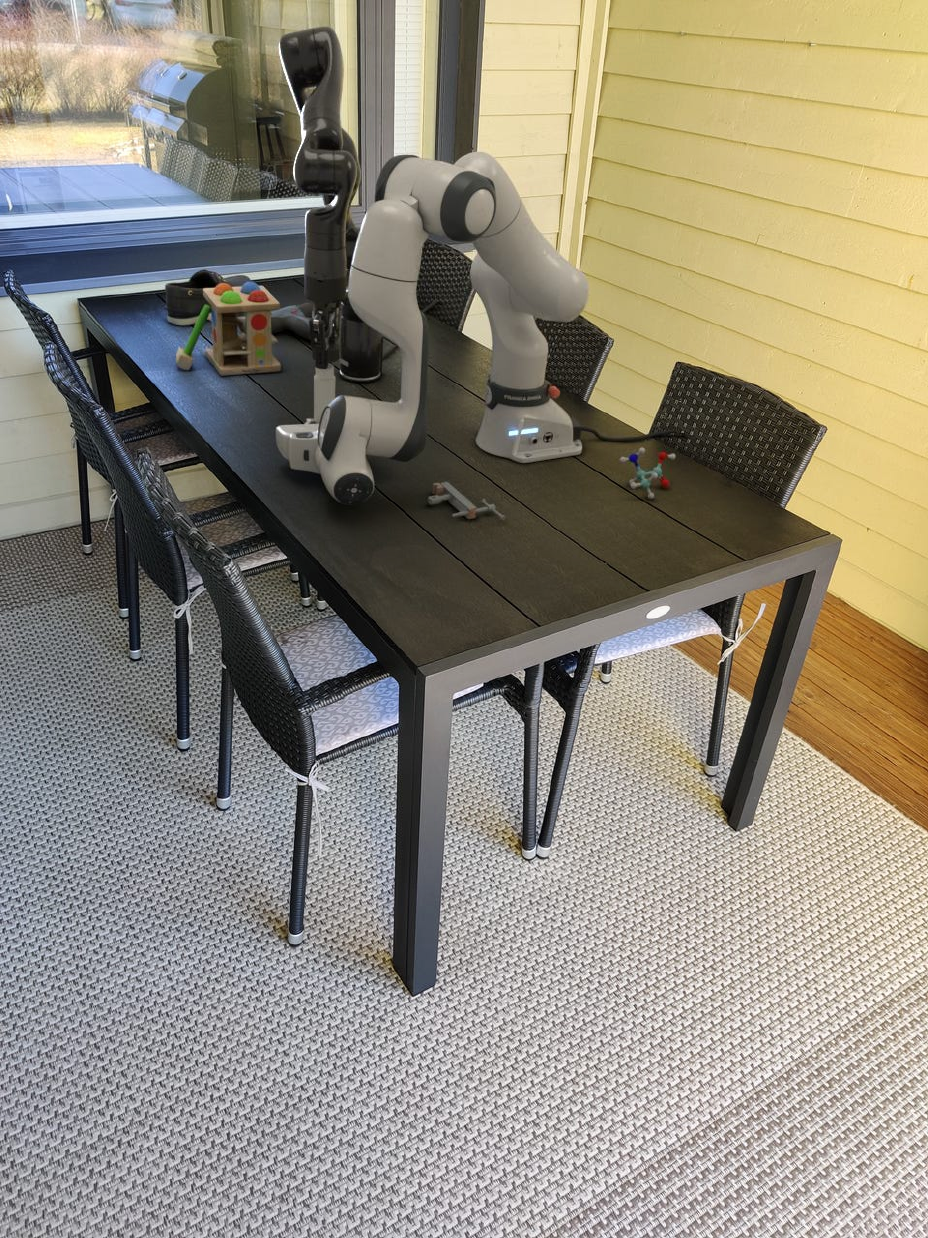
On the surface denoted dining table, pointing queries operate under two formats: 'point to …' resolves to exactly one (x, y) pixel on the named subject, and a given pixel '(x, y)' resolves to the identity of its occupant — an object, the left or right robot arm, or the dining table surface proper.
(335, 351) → the lid
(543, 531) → the dining table surface
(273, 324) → the power drill
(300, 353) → the dining table surface
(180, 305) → the boat shoe
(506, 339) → the right robot arm
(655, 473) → the molecular model
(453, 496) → the clamp
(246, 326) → the pounding bench toy
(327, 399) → the jar
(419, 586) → the dining table surface
